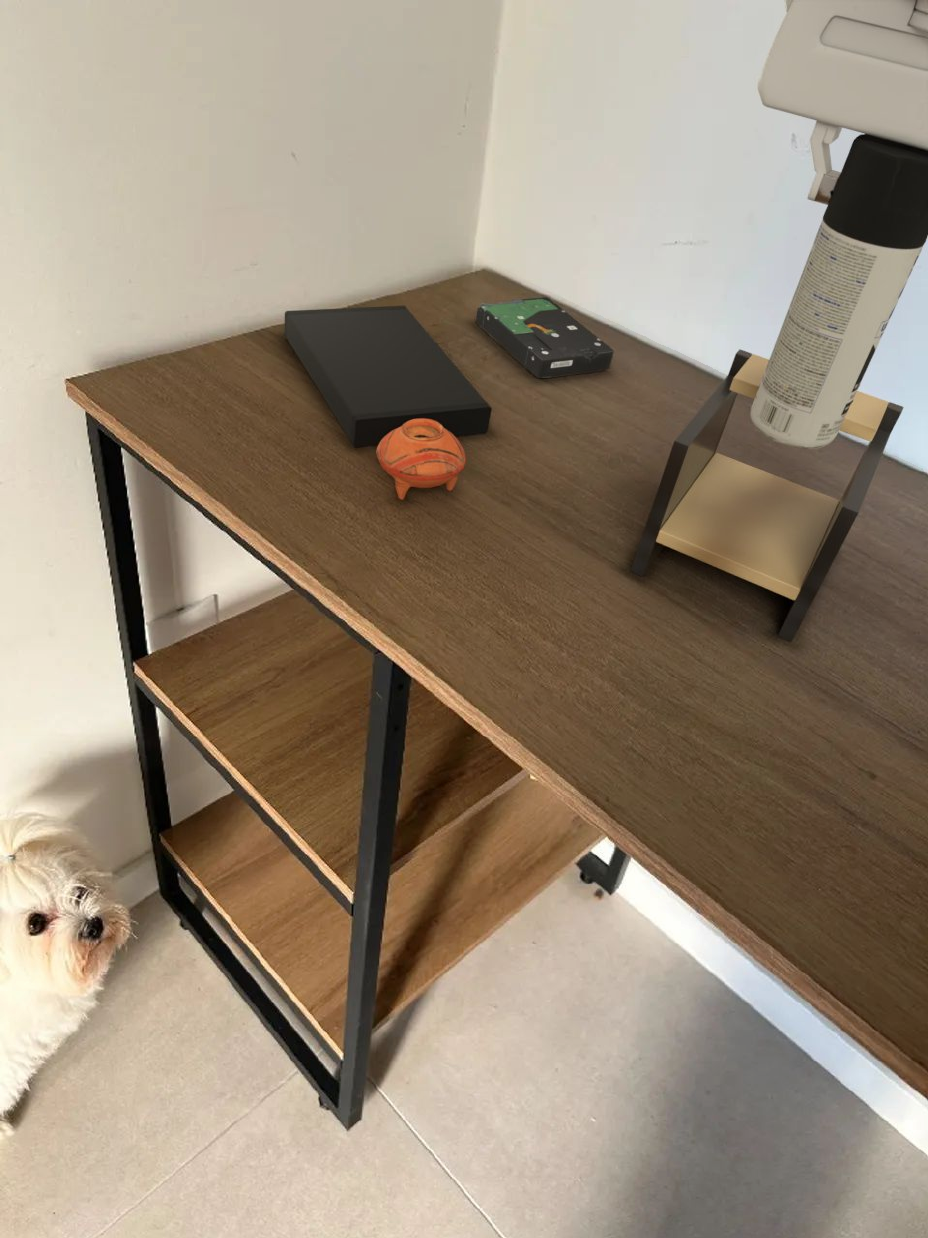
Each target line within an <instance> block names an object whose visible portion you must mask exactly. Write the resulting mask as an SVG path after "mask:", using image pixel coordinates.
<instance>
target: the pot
mask: <svg viewBox="0 0 928 1238" xmlns="http://www.w3.org/2000/svg"><path fill="white" fill-rule="evenodd" d="M375 454H376V458H377V461H378V463H379V464H380V467H381V468H382V469H383V470H384V471H385V472H386V473H387V474H388V475H390V476H391V477H392V478H393V479H394V484H395V490H396V493H397V497H398V500H404V499H405V497H406V494H407V493H408V491H409V489H410V488H418V489H430V488H431V489H432V488H436V487H439V486H442V485H444V484H445V487H446V490H447V491H449V492H450V491H452V490H453V489H454V488H455V486H456V484H457V480H458V477H459V474H460V473H461V472H462V471H463V469H464V467H465V466H466V463H467V456H466V452H465V450H464V447H463V445H462V444H461V442H460V440H459V439H458V438H457V437H455V436H454V435H453V434H452V433H451V432H449V431H448V430H447V429H445V428H443V426H442V425H441V424H440V423H439V422H437V421H435V420H432V419H424V418H419V419H412V420H409V421H408V422H406V423H404V424H403V425H402V426H401V427H399V428H396V429H394V430H393V431H391V432H390V433H388V434H387V435H386V436H385V437H384V438H383V439H382V440H381V442H380V443H379V445H377V447H376V450H375Z"/></svg>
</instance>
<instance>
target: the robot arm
mask: <svg viewBox="0 0 928 1238" xmlns="http://www.w3.org/2000/svg"><path fill="white" fill-rule="evenodd" d="M784 7H785V11H786V14H785V16H784V18H783V20H782V22H781V24H780V27H779V28H778V31H777V33H776V35H775V37H774V40H773V42H772V44H771V47H770V49H769V52H768V54H767V57H766V59H765V62H764V65H763V68H762V69H761V73H760V76H759V78H758V81H757V92H758V94H759V98H760V100H761V103H762V106H764V107H766V108H769V109H772V110H775V111H776V110H777V111H779V112H784V113H788V114H791V115H795V116H798V117H801V118H805V119H808V120H813V121H815V124H814V128H813V130H812V134H811V136H810V139H809V142H810V148H811V155H812V156H811V157H812V161H813V167H814V172H815V176H814V178H813V181H812V184H811V186H810V189H809V191H808V195H807V198H806V199H807V200H809V201H811V202H815V203H819V204H823V205H827V206H828V204H829V202H830V199H831V197H832V194H833V191H834V189H835V187H836V184H837V181H838V179H839V176H840V174H841V171H837V170H834V169H833V166H832V165H833V164H832V157H831V148H830V145H831V144H832V143H834V142H836V140H838V139H839V137H840V134H841V132H842V129H847V130H850V131H854V132H858V133H861V134H868V135H872V136H875V137H879V138H883V139H886V140H890V141H894V142H898V143H901V144H905V145H909V146H912V147H916V148H920V149H923V150H927V151H928V0H784ZM927 235H928V233H927Z"/></svg>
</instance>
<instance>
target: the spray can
mask: <svg viewBox="0 0 928 1238" xmlns="http://www.w3.org/2000/svg"><path fill="white" fill-rule="evenodd" d="M840 172H841V174H840V176H839V179H838V181H837V184H836V187H835V189H834V191H833V194H832V197H831V199H830V202H829V204H828V205H827V206H826V209H825V211H824V213H823V216H822V220H821V223H820V225H819V227H818V230H817V233H816V235H815V237H814V241H813V243H812V246H811V249H810V251H809V254H808V257H807V260H806V261H805V265H804V267H803V270H802V273H801V275H800V277H799V281H798V283H797V286H796V288H795V291H794V293H793V295H792V298H791V302H790V304H789V307H788V309H787V312H786V314H785V317H784V319H783V323H782V325H781V328H780V331H779V333H778V335H777V338H776V341H775V343H774V346H773V349H772V352H771V355H770V357H769V358H768V359H769V362H768V365H767V368H766V370H765V372H764V375H763V378H762V381H761V383H760V386H759V388H758V391H757V394H756V396H755V399H753V403H752V405H751V408H750V414H749V418H750V421H751V423H752V424H753V425H754V428H755V429H756V430H757V431H758V432H759V433H761V434H763V435H764V436H765V437H766V438H767V439H769V440H771V441H774V442H776V443H780V444H782V445H785V446H788V447H792V448H796V449H802V450H817V449H821V448H826V447H828V446H829V445H831V443H832V442H833V441H835V439H836V437H837V436H838V434H839V432H840V427H841V425H842V423H843V421H844V419H845V416H846V414H847V412H848V410H849V407H850V405H851V403H852V402H853V399H854V396H855V394H856V392H857V391H859V390H858V389H859V388H860V386H861V383H862V381H863V378H864V377H865V374H866V372H867V370H868V367H869V366H870V363H871V361H872V359H873V357H874V354H875V352H876V350H877V348H878V346H879V344H880V341H881V339H882V337H883V335H884V333H885V330H886V329H887V326H888V324H889V322H890V319H891V318H892V315H893V313H894V312H895V309H896V307H897V305H898V303H899V301H900V298H901V297H902V294H903V292H904V289H905V287H906V285H907V283H908V281H909V278H910V276H911V274H912V272H913V270H914V268H915V265H916V263H917V261H918V259H919V257H920V255H921V252H922V250H923V248H924V246H925V244H926V243H927V240H928V235H927V233H928V151H927V150H923V149H920V148H916V147H912V146H909V145H905V144H901V143H898V142H894V141H890V140H886V139H883V138H879V137H875V136H872V135H868V134H864V133H861V134H858V135H857V136H856V137H855V138H854V139H853V141H852V142H851V146H850V148H849V151H848V154H847V156H846V159H845V161H844V164H843V166H842V169H841V171H840Z"/></svg>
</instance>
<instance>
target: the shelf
mask: <svg viewBox="0 0 928 1238" xmlns="http://www.w3.org/2000/svg"><path fill="white" fill-rule="evenodd" d="M769 359H770V358H766V357H763V356H760V355H757V354H754V353H751V352H749V351H746V350H743V349H738V350H737V352H736V353H735V355H734V358H733V360H732V363H731V366H730V369H729V371H728V374H727V375H726V377H725V378H724V379H723V381H721V383H720V384H719V385H718V386H717V388H716V389H715V390H714V391H713V392H712V394H711V395H710V396H709V398H708V399H707V400H706V401H705V402H704V404H703V405H702V406H701V407H700V409H699V410H697V412H696V414H695V415H694V416H693V417H692V418H691V420H690V421H689V422H688V423H687V425H686V426H685V427H684V428H683V430H682V431H681V432H680V433H679V434H678V435H677V437H676V438H675V440H674V441H673V444H672V447H671V450H670V453H669V456H668V459H667V462H666V463H665V467H664V470H663V473H662V476H661V479H660V482H659V485H658V488H657V491H656V494H655V497H654V500H653V503H652V505H651V509H650V512H649V514H648V518H647V521H646V523H645V526H644V529H643V532H642V534H641V535H642V536H641V538H640V541H639V544H638V547H637V550H636V553H635V556H634V559H633V562H632V565H631V567H630V572H631V573H633V574H635V575H637V576H639V577H644V576H645V574H646V573H648V570H649V569H650V567H651V566H652V564H653V563H654V561H655V560H656V559H657V557H658V556H659V555H660V553H661V552H662V550H663V549H664V547H667V548H670V549H672V550H675V551H677V552H679V553H681V554H684V555H686V556H688V557H691V558H693V559H695V560H698V561H700V562H702V563H705V564H707V565H709V566H712V567H714V568H717V569H718V570H721V571H724V572H726V573H728V574H731V575H732V576H736V577H738V578H740V579H742V580H745V581H747V582H750V583H751V584H754V585H756V586H759V587H762V588H764V589H766V590H768V591H770V592H773V593H776V594H778V595H781V596H782V597H785V598H788V599H789V600H792V603H791V604H790V607H789V610H788V611H787V614H786V616H785V618H784V620H783V623H782V625H781V627H780V629H779V631H778V634H777V637H779V638H781V639H783V640H786V641H788V642H791V643H792V642H793V640H794V639H795V637H796V635H797V632H798V631H799V629H800V627H801V625H802V623H803V621H804V619H805V617H806V615H807V613H808V611H809V609H810V607H811V605H812V603H813V602H814V600H815V598H816V596H817V594H818V592H819V590H820V588H821V586H822V584H823V583H824V581H825V578H827V577H826V576H827V575H828V573H829V571H830V569H831V567H832V565H833V564H834V561H835V560H836V558H837V555H838V554H839V551H840V550H841V548H842V546H843V544H844V542H845V540H846V538H847V537H848V534H849V532H850V531H851V528H852V527H853V525H854V523H855V521H856V519H857V517H858V515H859V514H860V511H861V508H862V505H863V503H864V500H865V498H866V496H867V494H868V491H869V489H870V486H871V483H872V481H873V478H874V476H875V473H876V471H877V470H878V469H877V468H878V466H879V464H880V461H881V458H882V457H883V453H884V451H885V449H886V446H887V444H888V442H889V438H890V436H891V434H892V431H893V430H894V428H895V426H896V424H897V423H898V420H899V418H900V416H901V414H902V412H903V410H904V406H902V405H900V404H896V403H894V402H891V401H888V400H885V399H882V398H879V397H877V396H874V395H871V394H868V393H865V392H862V391H860V390H857V392H856V394H855V396H854V399H853V402H852V403H851V405H850V407H849V410H848V412H847V414H846V416H845V419H844V421H843V423H842V425H841V427H840V430H839V432H843V433H845V434H848V435H851V436H854V437H856V438H859V439H862V440H865V441H867V442H868V443H867V445H866V448H865V450H864V452H863V454H862V456H861V458H860V460H859V462H858V464H857V466H856V468H855V470H854V472H853V474H852V476H851V478H850V481H849V482H848V484H847V486H846V488H845V490H844V492H843V494H842V496H841V498H840V500H839V499H838V498H837V499H836V498H834V497H833V496H829V495H827V494H824V493H821V492H819V491H816V490H814V489H812V488H810V487H809V488H808V487H806V486H803V485H801V484H799V483H795V482H794V481H790V480H788V479H786V478H783V477H780V476H777V475H776V474H773V473H770V472H768V471H765V470H762V469H760V468H757V467H755V466H752V465H749V464H747V463H744V462H741V461H739V460H736V459H734V458H732V457H729V456H727V455H724V454H721V453H718V452H717V449H718V447H719V445H720V441H721V439H722V436H723V433H724V431H725V428H726V425H727V423H728V420H729V417H730V415H731V412H732V410H733V408H734V404H735V401H736V399H737V397H738V394H739V395H742V396H744V397H748V398H749V399H752V400H754V399H755V396H756V394H757V391H758V388H759V386H760V383H761V381H762V378H763V375H764V372H765V370H766V368H767V365H768V362H769Z"/></svg>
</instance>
